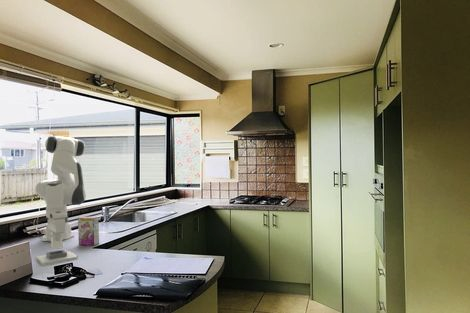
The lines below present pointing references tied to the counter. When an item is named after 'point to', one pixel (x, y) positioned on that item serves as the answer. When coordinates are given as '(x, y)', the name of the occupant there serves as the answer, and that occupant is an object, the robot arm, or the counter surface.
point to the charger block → (55, 243)
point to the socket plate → (56, 257)
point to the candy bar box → (88, 230)
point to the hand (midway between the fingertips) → (56, 240)
